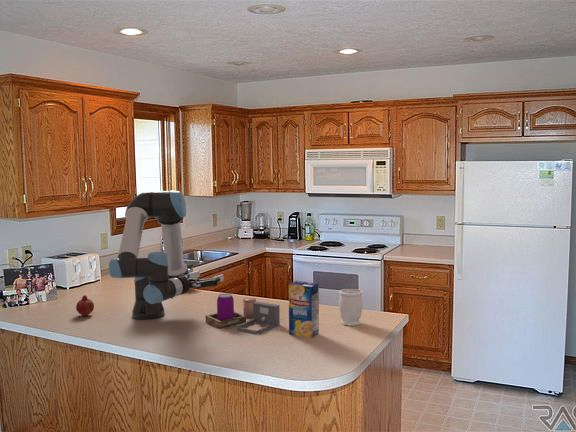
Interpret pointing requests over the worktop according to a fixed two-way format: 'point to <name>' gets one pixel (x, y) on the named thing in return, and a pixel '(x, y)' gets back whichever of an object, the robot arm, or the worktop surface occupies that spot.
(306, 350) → the worktop surface
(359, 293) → the jar
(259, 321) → the checker cradle
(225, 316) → the beverage can
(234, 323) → the wooden tray
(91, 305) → the fruit
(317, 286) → the beverage box
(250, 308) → the cup
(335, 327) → the worktop surface
